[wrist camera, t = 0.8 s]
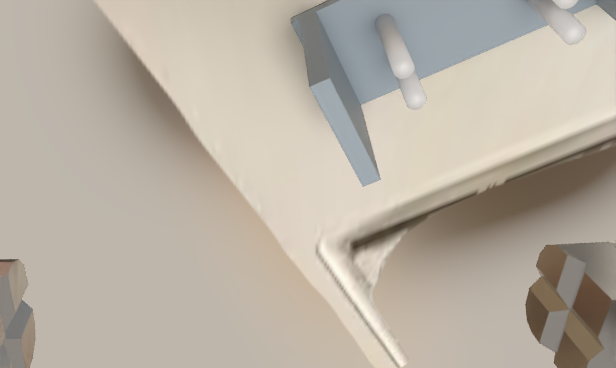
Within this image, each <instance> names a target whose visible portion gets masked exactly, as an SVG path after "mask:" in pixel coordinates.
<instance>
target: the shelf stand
mask: <svg viewBox="0 0 616 368" xmlns="http://www.w3.org/2000/svg"><path fill="white" fill-rule="evenodd" d="M596 4H597V5H598V6H600V7H601V8H602V9H603V10H604V11H605V12H606V13H608V14H609V15H610V16H611V17H612V18H613V19H615V20H616V0H329V1H326V2H324V3H322V4H320V5H318V6H316V7H314V8H312V9H310V10H308V11H305V12H303V13H301V14H299V15H297V16H295V17H293V18H291V23H292V25H293V27H294V29H295V31H296V33H297V35H298V37H299V39H300V41H301V43H302V45H303V47H304V53H305V60H306V66H307V73H308V80H309V87H310V89H311V91H312V93H313V94H314V96H315V98H316V100H317V102H318V104H319V106H320V108H321V109H322V111H323V113H324V115H325V117H326V119H327V121H328V123H329V124H330V126H331V128H332V130H333V132H334V134H335V136H336V138H337V139H338V141H339V143H340V145H341V147H342V149H343V151H344V152H345V154H346V156H347V158H348V160H349V162H350V164H351V166H352V167H353V169H354V171H355V173H356V175H357V177H358V179H359V181H360V182H361V184H362V186H363V187H364V186H366V185H369V184H371V183H374V182H376V181H379V180H381V179H380V175H379V172H378V168H377V164H376V160H375V157H374V153H373V149H372V145H371V142H370V138H369V134H368V130H367V127H366V123H365V119H364V115H363V112H362V108H361V104H364V103H366V102H368V101H371V100H373V99H375V98H378V97H380V96H383V95H385V94H387V93H390V92H392V91H394V90H397V89H399V88H400V89H401V92H402V94H403V97H404V100H405V102H406V105H407V107H408V108H410V109H413V110H417V109H420V108H422V107H423V106H424V105H425V104H426V101H427V97H426V95H425V92H424V90H423V88H422V86H421V83H420V81H419V80H420V79H422V78H425V77H427V76H429V75H432V74H434V73H436V72H439V71H441V70H443V69H446V68H448V67H450V66H453V65H455V64H457V63H460V62H462V61H464V60H467V59H469V58H471V57H474V56H476V55H479V54H481V53H483V52H486V51H488V50H490V49H493V48H495V47H497V46H500V45H502V44H504V43H507V42H509V41H511V40H514V39H516V38H518V37H521V36H523V35H525V34H528V33H530V32H532V31H535V30H537V29H539V28H542V27H544V26H546V25H549V26H550V27H551V28H552V29H553V30H554V31H555V32H556V33H557V34H558V35H559V36H560V38H561V39H562V40H563V41H564V42H565V43H566V44H569V45H573V44H576V43H578V42H580V41H581V40H582V39H583V38H584V36H585V34H586V28H585V27H584V26H583V25H582V24H581V23H580V22H579V21H578V20H577V19H576V18H575V17H574V16H573V15H572V14H575V13H577V12H579V11H582V10H584V9H586V8H589V7H591V6H593V5H596Z"/></svg>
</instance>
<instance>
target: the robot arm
mask: <svg viewBox="0 0 616 368" xmlns="http://www.w3.org/2000/svg"><path fill="white" fill-rule="evenodd" d="M536 267H537V269H538V271H539V273H540V275H541V277H540V278H539V279H538V280H537V281H536V282H535V283H534V284H533V285H532V286H531V287H530V288H529V292H528V296H527V300H526V304H525V305H526V315H527V322H528V324H529V327H530V329H531V332H532V333H533V335H534V336H535V338H536V339H537V340H538V342H539V343H540V344H542V345H543V346H545V347H547V348H549V349H550V350H552V351H554V352H555V357H554V364H555V365H556V366H557V368H616V241H605V242H595V243H575V244H556V245H546V246H545V247H544V249H543V250H542V251H541V253H540V255H539V258H538V261H537V264H536ZM27 286H28V281H27V276H26V272H25V268H24V264H23V263H22V262H21V261H20V260H19V259H5V260H4V259H0V368H30V365H31V362H32V359H33V351H34V345H35V320H34V314H33V309H32V308H31V307H30V306H28V305H27V304H26V303H25V302H24V301H23V300H22V297H23V295H24V293H25V290H26V288H27Z"/></svg>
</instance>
